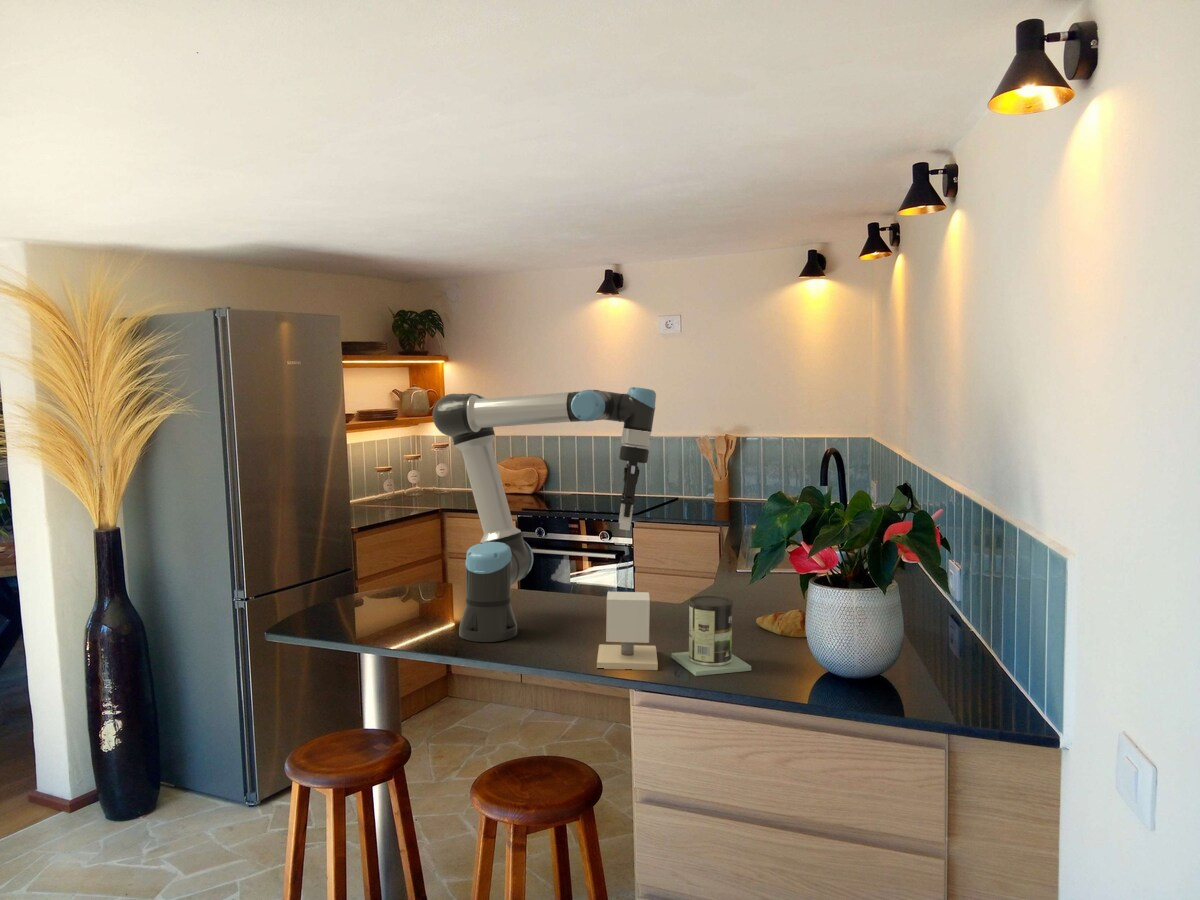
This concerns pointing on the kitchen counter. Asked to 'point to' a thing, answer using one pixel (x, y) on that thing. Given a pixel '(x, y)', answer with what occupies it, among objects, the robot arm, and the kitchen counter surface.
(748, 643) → the kitchen counter surface
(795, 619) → the croissant
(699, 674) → the sage mat
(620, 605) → the mounted unit
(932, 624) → the kitchen counter surface
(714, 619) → the coffee can
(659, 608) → the kitchen counter surface
